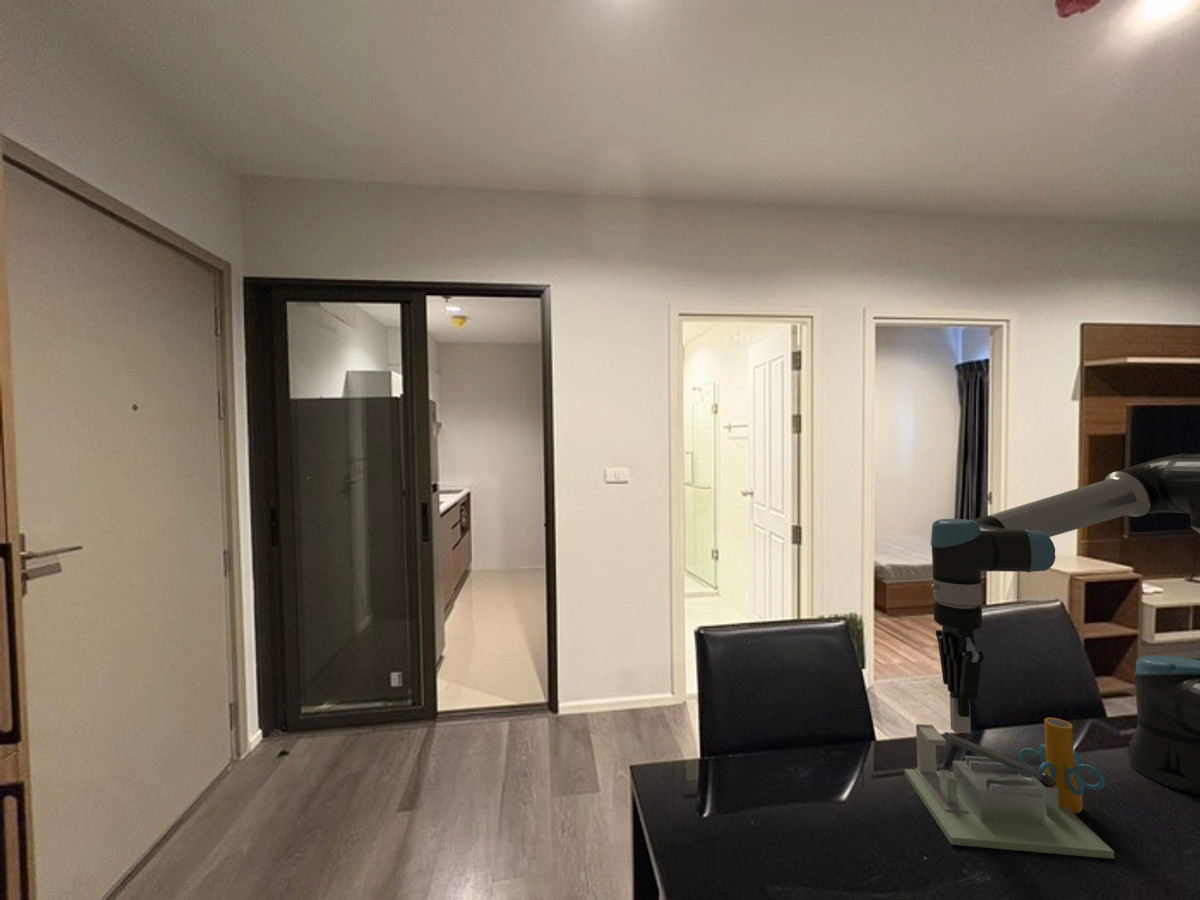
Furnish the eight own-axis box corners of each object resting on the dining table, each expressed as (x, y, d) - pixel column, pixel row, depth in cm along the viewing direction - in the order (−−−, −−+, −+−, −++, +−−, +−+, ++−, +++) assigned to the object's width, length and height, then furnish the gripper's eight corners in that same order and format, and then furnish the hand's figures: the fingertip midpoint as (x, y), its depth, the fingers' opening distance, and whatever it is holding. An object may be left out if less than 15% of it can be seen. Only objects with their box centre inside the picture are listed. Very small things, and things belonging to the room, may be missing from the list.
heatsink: (1034, 792, 102) (1033, 759, 102) (1071, 828, 92) (1069, 791, 92) (932, 784, 105) (931, 752, 105) (957, 819, 95) (956, 783, 95)
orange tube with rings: (1118, 829, 93) (1115, 742, 93) (1049, 823, 95) (1046, 737, 95) (1071, 786, 105) (1069, 709, 105) (1011, 781, 107) (1009, 705, 107)
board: (1035, 783, 106) (1035, 776, 106) (1114, 858, 86) (1113, 849, 86) (904, 774, 110) (904, 767, 110) (951, 844, 90) (951, 835, 90)
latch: (933, 768, 109) (932, 724, 109) (947, 786, 103) (945, 740, 103) (917, 767, 110) (916, 724, 110) (930, 785, 104) (929, 739, 104)
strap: (1039, 774, 99) (1041, 768, 99) (1054, 787, 95) (1056, 781, 95) (941, 734, 102) (943, 728, 102) (951, 745, 98) (954, 739, 98)
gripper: (920, 593, 107) (923, 712, 106) (951, 612, 94) (955, 748, 94) (961, 594, 105) (965, 715, 105) (999, 613, 93) (1003, 751, 92)
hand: (960, 730), depth 99 cm, fingers closed
